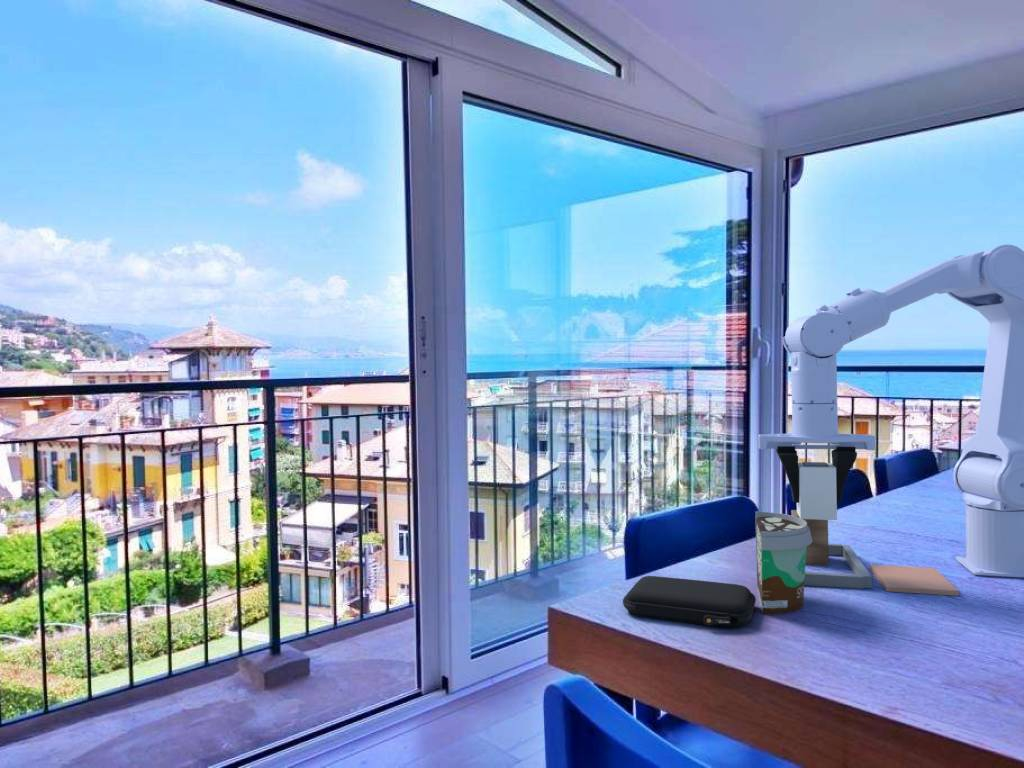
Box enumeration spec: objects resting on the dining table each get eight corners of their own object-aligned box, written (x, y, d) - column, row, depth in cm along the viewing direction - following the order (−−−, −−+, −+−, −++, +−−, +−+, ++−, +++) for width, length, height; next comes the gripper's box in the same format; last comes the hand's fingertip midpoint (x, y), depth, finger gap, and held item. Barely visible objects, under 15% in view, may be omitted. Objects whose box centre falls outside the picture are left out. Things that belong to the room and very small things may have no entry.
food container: (821, 622, 77) (819, 534, 77) (763, 618, 79) (761, 532, 79) (806, 588, 89) (805, 512, 89) (756, 585, 91) (755, 510, 91)
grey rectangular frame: (848, 554, 104) (848, 544, 104) (872, 589, 88) (872, 577, 88) (764, 550, 108) (764, 540, 108) (773, 583, 91) (773, 572, 91)
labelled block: (831, 513, 95) (830, 461, 95) (837, 520, 91) (836, 466, 91) (796, 512, 97) (795, 461, 96) (800, 518, 92) (799, 465, 92)
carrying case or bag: (616, 622, 80) (748, 639, 74) (615, 596, 80) (748, 611, 74) (638, 594, 90) (757, 607, 84) (638, 571, 90) (756, 582, 84)
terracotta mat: (934, 572, 94) (934, 567, 94) (958, 595, 85) (958, 590, 85) (870, 568, 97) (870, 564, 97) (886, 591, 87) (886, 586, 87)
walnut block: (824, 557, 103) (823, 511, 103) (828, 565, 99) (827, 517, 99) (792, 555, 104) (791, 510, 104) (795, 563, 100) (794, 516, 100)
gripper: (866, 400, 95) (868, 497, 96) (756, 402, 99) (758, 495, 100) (878, 403, 88) (879, 508, 89) (759, 404, 93) (761, 504, 93)
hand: (816, 501), depth 94 cm, fingers closed on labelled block, 4 cm apart
